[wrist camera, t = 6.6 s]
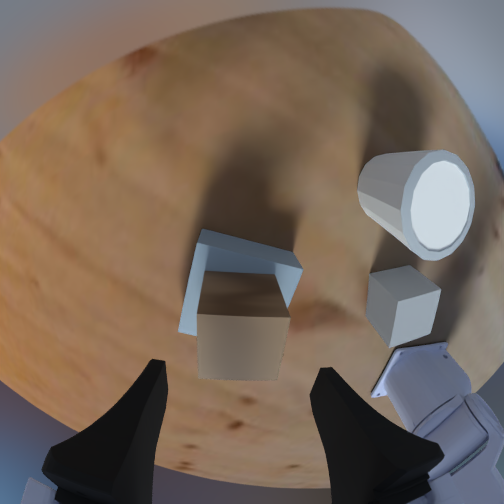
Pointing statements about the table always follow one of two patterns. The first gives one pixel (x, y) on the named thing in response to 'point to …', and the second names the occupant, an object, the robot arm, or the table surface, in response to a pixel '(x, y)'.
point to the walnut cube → (240, 326)
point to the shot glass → (419, 199)
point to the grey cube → (401, 304)
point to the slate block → (235, 268)
